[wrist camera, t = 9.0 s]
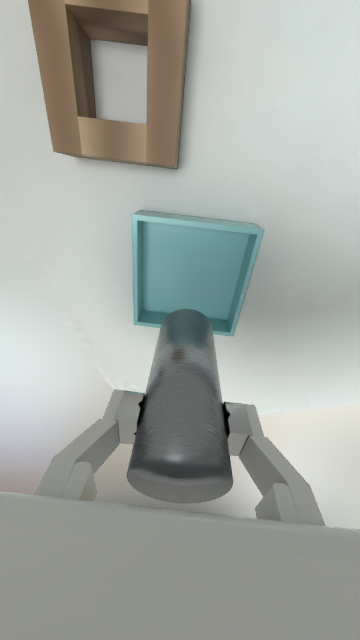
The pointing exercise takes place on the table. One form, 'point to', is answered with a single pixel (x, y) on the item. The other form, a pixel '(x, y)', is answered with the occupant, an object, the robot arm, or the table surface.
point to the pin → (182, 417)
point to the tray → (191, 267)
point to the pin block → (77, 78)
